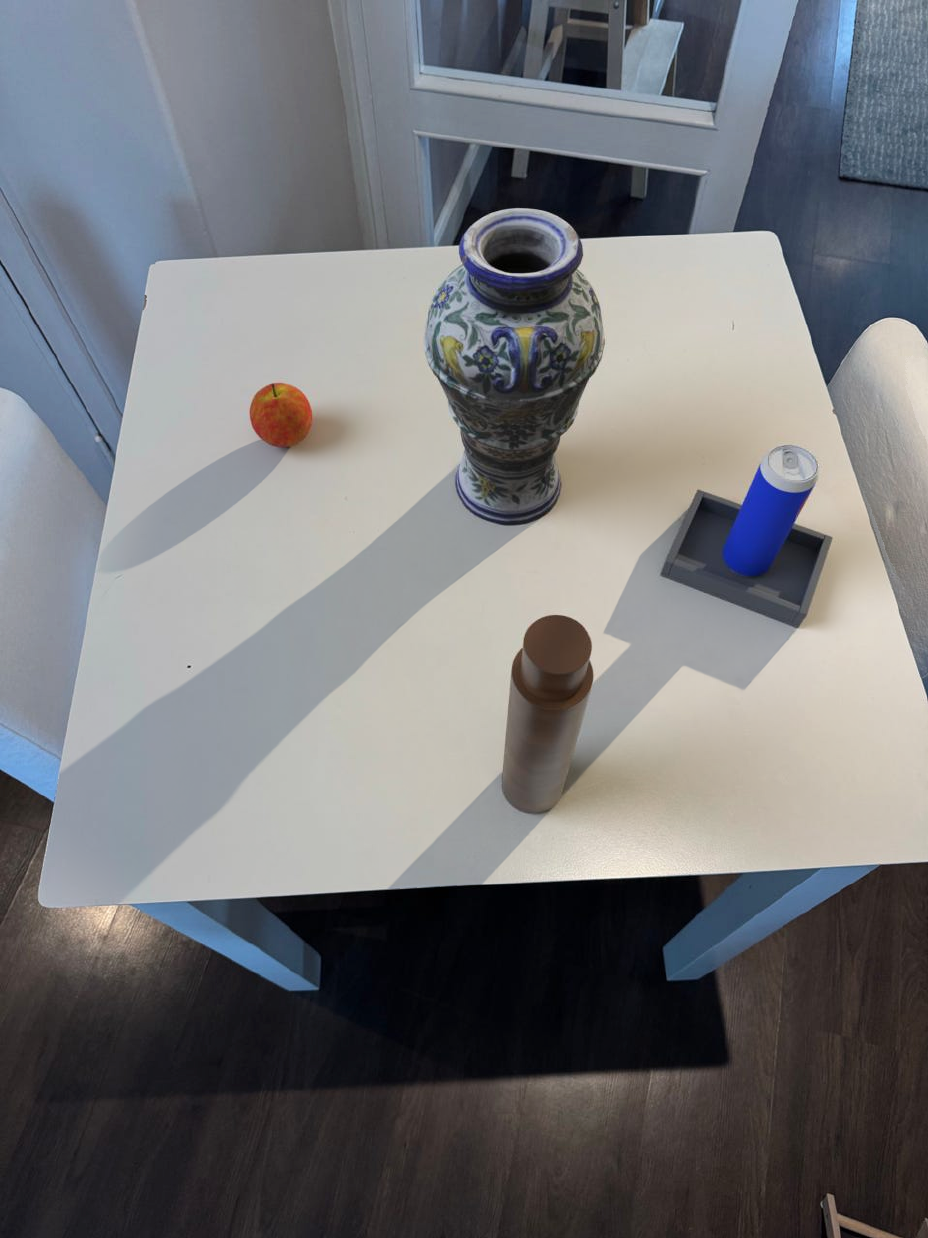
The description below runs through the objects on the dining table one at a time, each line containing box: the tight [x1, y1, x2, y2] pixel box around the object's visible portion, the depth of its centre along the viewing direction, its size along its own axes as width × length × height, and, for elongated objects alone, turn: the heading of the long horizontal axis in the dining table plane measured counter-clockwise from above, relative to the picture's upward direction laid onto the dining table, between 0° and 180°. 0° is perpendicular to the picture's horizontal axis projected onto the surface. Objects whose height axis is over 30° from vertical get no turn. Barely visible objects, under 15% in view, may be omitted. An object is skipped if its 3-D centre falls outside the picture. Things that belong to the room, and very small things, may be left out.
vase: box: [423, 207, 606, 526], centre depth 81 cm, size 17×17×30 cm
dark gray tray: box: [660, 488, 834, 629], centre depth 87 cm, size 15×11×3 cm
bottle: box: [501, 614, 594, 815], centre depth 65 cm, size 6×6×26 cm
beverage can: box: [722, 443, 820, 577], centre depth 81 cm, size 5×5×15 cm
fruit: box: [249, 382, 313, 448], centre depth 94 cm, size 7×7×8 cm
